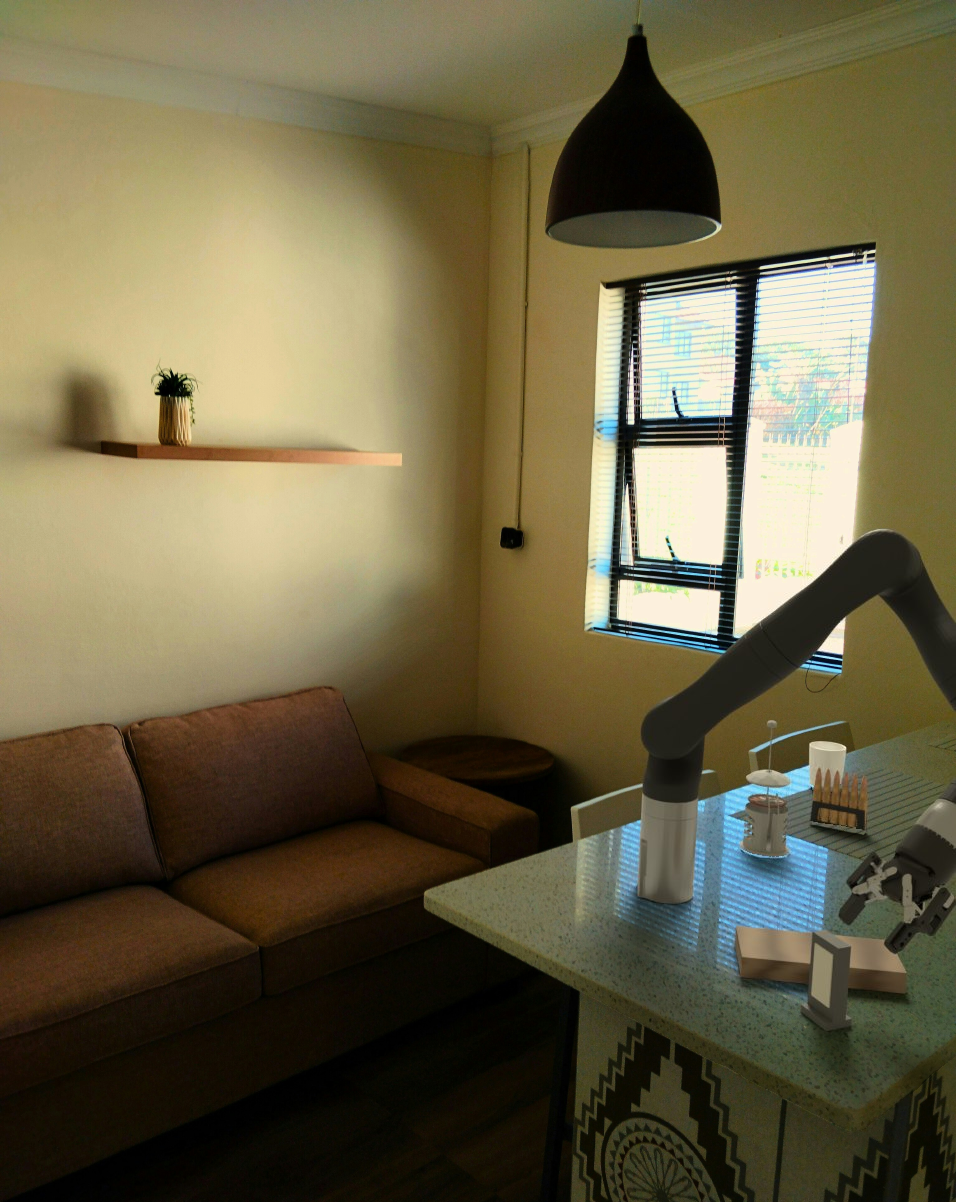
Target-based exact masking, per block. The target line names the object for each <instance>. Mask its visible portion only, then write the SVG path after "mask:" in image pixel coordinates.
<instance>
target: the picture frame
mask: <svg viewBox="0 0 956 1202" xmlns="http://www.w3.org/2000/svg"><path fill="white" fill-rule="evenodd" d="M811 933H812V946H811V960H810V974H809V984H808V990H807V991H808V992H807V1001H806V1002H807V1003H806V1002H805V1003H803V1004H800V1013H802V1014H803V1015H804V1016H806V1017H807V1018H808V1019H810V1020H811V1021H812V1022H813V1023H815V1024H816V1025H817V1026H818V1027H820V1028H821V1029H822V1030H824V1031H825V1032H829V1031H834V1030H839V1029H843V1028H850V1027H852V1023H853V1018H851V1017H850V1016H849V1015H847V1006H848V995H849V988H848V982H849V969H850V956H851V946H850V945H848V944H847V943H845V942H844V941H842V940H840V939H839V938H837V937H836V936H834V935H835V934H833V933H831V932H830V931H828V930H826V929H820V930H814V931H812V932H811Z"/></svg>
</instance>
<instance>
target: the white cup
mask: <svg viewBox="0 0 956 1202" xmlns="http://www.w3.org/2000/svg"><path fill="white" fill-rule="evenodd" d="M808 748H809V751H808V752H809V757H808V758H809V760H808V765H809V767H808V772H809V774H808V775H809V785H810V784H811V785H813V786H814V785H815V780H816V773H817V770H818V768H819V767H820V769H821V773H822V787H824V781H825V775H826V772H827V770H828V769H829V770H830V774H831V787H833V784H834V777H835V773H836V771H837V770H838V771H839V775H840V784H841V785H842V783H843V778H844V773H845V772H844V770H845V763H846V755H847V747H846V746H845V745H843V744H841V743H838V742H832V741H821V740H820V741H812V742H809V747H808Z"/></svg>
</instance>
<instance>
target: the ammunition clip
mask: <svg viewBox="0 0 956 1202" xmlns="http://www.w3.org/2000/svg"><path fill="white" fill-rule="evenodd" d="M858 778H859V777H858V774H857V773H854V774H853V776H852V780H851V787H850V777H849V774H848V772H847V771H845V772H844V774H843V778H842V784H841V790H840V775H839V771H838V770H837V771H836V773H835V777H834V784H833V789H832V793H831V774H830V770H829V769H828V770H827V772H826V775H825V781H824V787H823V792H822V773H821V769H820V767H819V768H818V770H817V773H816V780H815V785H814V790H813V793H812V801H811V802H812V803H811V811H810V819H809V822H810V821H813V822H818V823H825V824H833V825H841V826H846V825H847V826H846V827H850V828H853V827H856V829H862V830H865V827H866V828H867V825H868V823H867V821H868V820H867V817H868V815H867V814H868V781H867V780H868V779H867V778H868V777H867V776H866V775H863V776H862V779H861V784H860V789H859V780H858ZM849 790H850V791H849ZM859 790H860V791H859ZM856 825H857V826H856Z"/></svg>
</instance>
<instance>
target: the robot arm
mask: <svg viewBox="0 0 956 1202" xmlns="http://www.w3.org/2000/svg"><path fill="white" fill-rule="evenodd" d="M876 596H879V598H881V599H882V601H883V602H884V603H885V604H886V605H887V606H888V607H889V608H890V609H891V610H892V611H893V613H894V614H895V615H896V616H897V617H898V619H899V620H900V621H901V623H902V624H903V625H904V627H905V628H906V631H907V632H908V633H909V635H910V637H911V639H912V640H913V642H914V644H915V647H916V649H917V650H918V653H919V654H920V656H921V658H922V660H923V662H924V665H925V667H926V669H927V670H928V672H929V674H930V675H931V678H932V680H934V682H935V684H936V686H937V687H938V688H939V691H940V692H941V693H942V695H943V696H944V698H945V699H946V700H947V702H948V704H949V705H950V707H951V708H952V709H953V711H954V712H955V713H956V621H955V619H954V618H953V616H952V615H951V614H950V612H949V610H948V609H947V608H946V606H945V604H944V602H943V601H942V599H941V597H940V595H939V594H938V592H937V590H936V588H935V586H934V584H933V582H932V579H931V577H930V576H929V572H928V571H927V568H926V566H925V564H924V562H923V559H922V555H921V552H920V551H919V549H918V548H917V546H915V544H914V543H912V541H910V540H909V539H908V538H907V537H906V536H905V535H903V534H901V533H900V532H898V531H897V530H893V529H888V528H880V529H879V528H878V529H874V530H871V531H868V532H866V533H864V534H862V535H861V536H859V537H858V538H857V539H855V541H854V542H852V543H851V544H850V545H849V546H848V547H847V548H846V549H845V550H844V551H843V552H841V554H840V555H839V556H838V558H836V559H835V560H834V561H833V562H832V563H831V564H830V565H829V566H828V567H827V568H826V569H825V570H824V571H823V572H822V573H820V575H819V576H818V577H816V578H815V579H814V580H813V581H811V583H809V584H808V585H807V586H805V587H804V588H803V589H801V590H800V591H798V592H797V593H796V594H794V595H793V596H792V597H790V598H789V599H788V600H787V601H785V602H784V603H783V604H781V605H780V606H779V607H777V608H776V609H775V610H774V611H772V612H771V613H770V614H768V615H767V616H766V617H765V618H763V619H761V620H760V621H758V623H756V624H755V625H754V626H752V627H751V628H750V629H748V631H746V632H745V633H744V634H742V635H741V636H740V637H739V638H738V639H737V640H736V641H735V642H734V643H733V644H732V645H731V646H729V648H728V649H726V650H725V651H723V653H722V654H721V655H720V656H719V657H718V658H717V659H716V660H715V661H714V663H713V664H712V665H711V666H709V668H707V670H706V671H705V672H704V673H702V675H701V676H700V677H699V678H697V679H696V680H695V681H694V682H692V683H691V684H690V685H689V686H687V687H685V688H684V689H682V690H681V691H680V692H678V693H676V694H675V695H673V696H668V697H665V698H663V699H662V700H660V701H659V702H658V703H656V704H655V705H654V706H652V707H651V709H649V710H648V711H647V712H646V714H645V715H644V717H643V720H642V723H641V725H640V740H641V743H642V745H643V747H644V749H645V750H646V751H647V752H648V756H647V757H648V758H647V764H646V768H645V771H644V774H643V777H642V787H641V788H642V789H641V793H642V794H641V815H640V816H641V817H640V829H639V830H640V831H639V846H638V847H639V850H638V865H637V866H638V867H637V868H638V870H637V891H636V892H637V897H638V898H642V899H643V898H644V899H647V900H649V901H653V902H656V903H660V904H671V905H674V904H681V903H685V902H689V901H690V900H691V899H692V898H693V896H694V887H695V866H696V852H697V851H696V848H697V847H696V845H697V828H698V812H699V809H698V808H699V795H700V793H699V792H700V784H701V781H702V776H703V775H702V774H703V767H704V757H705V756H704V755H705V743H706V735H707V734H708V733H710V732H711V731H712V730H713V729H714V728H715V727H716V726H717V725H719V723H721V722H722V721H723V720H725V719H726V718H727V717H728V716H730V715H731V714H732V713H734V712H735V711H737V710H739V709H740V708H742V707H744V706H745V705H748V703H751V702H752V701H754V700H755V699H757V698H758V697H760V696H761V695H763V694H765V693H766V692H767V691H769V690H771V689H772V688H774V687H775V686H777V685H779V683H781V682H782V681H784V680H785V679H786V678H788V677H789V676H791V675H792V674H793V673H794V672H796V671H797V670H798V669H799V668H801V667H802V666H803V665H805V663H807V662H808V661H809V660H810V659H811V658H812V657H813V656H814V655H815V654H816V653H817V652H818V651H819V649H821V647H822V645H823V644H824V643H825V642H826V640H827V639H828V638H829V636H830V635H831V634H832V632H833V631H834V630H835V629H836V628H837V626H838V625H839V624H840V623H841V622H842V621H843V620H844V619H845V618H846V617H848V616H849V615H850V614H851V613H852V612H854V611H855V610H857V609H858V608H860V607H862V606H863V605H864V604H866V603H867V602H868V601H870V600H871V599H874V598H875V597H876ZM955 875H956V777H954V778H953V780H951V782H950V783H949V784H948V785H947V786H946V788H945V789H944V790H943V791H942V793H941V794H940V795H939V796H938V798H937V799H936V800H935V801H934V802H933V803H932V804H931V805H930V806H929V807H928V808H927V809H925V811H924V812H923V813H922V814H921V816H919V818H918V819H917V821H915V822H914V824H913V825H912V826H911V828H910V829H909V830H908V831H907V833H906V834H905V835H904V836H903V838H902V839H901V840H900V841H899V843H897V845H896V847H895V852H894V855H893V857H892V858H891V859H889V860H887V861H886V860H884V859H883V858H881V857H880V855H878V853H877V852H876V851H875V852H874V851H872V852H871V853H869V854H868V856H866V858H865V859H864V860H863V861H862V862H861V863H860V865H859V866H858V867H857V868H856V869H855V870H854V871H853V872H852V873H851V875H850V876H849V877H848V878H847V879H846V881H845V883H846V885H847V886H848V887H849V889H850V891H851V895H850V896H849V897H848V899H847V900H846V901H845V903H843V904H842V906H841V907H840V908H839V911H838V918H839V919H840V920H841V921H842V922H843V924H845V925H847V926H852V924H853V922H855V920H856V919H857V918H858V916H859V915H860V914H862V913H861V912H863V910H864V909H866V904H868V903H871V902H874V901H884V900H886V899H888V900H890V901H891V902H894V903H898V904H899V905H900V906H901V907H903V921H899V923H897V925H896V926H895V927H894V928H893V929H892V931H891V932H890V934H889V935H888V936H887V937H886V939H884V940H885V941H884V945H885V947H886V948H887V949H888V950H889V951H890V952H892V953H893V954H897V955H898V953H900V952H902V951H903V950H905V948H906V947H907V945H908V944H909V943H910V942H911V940H912V939H913V938H914V937H915V935H919V934H927V936H929V937H934V936H935V935H936V933H937V932H938V930H939V929H940V928H941V927H942V925H943V923H945V921H946V919H947V918H948V917H949V915H950V913H952V910H953V909H954V908H955V906H956V898H955V897H954V895H953V894H952V892H951V891H950V890H949V889H948V888H947V887H946V886H947V885H948V884H949V882H950V881H951V879H953V877H954V876H955ZM861 878H862V879H861ZM860 879H861V880H860ZM879 885H880V886H879ZM930 900H931V901H930ZM928 901H930V902H929V904H928V905H927V906H926V902H928Z"/></svg>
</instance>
